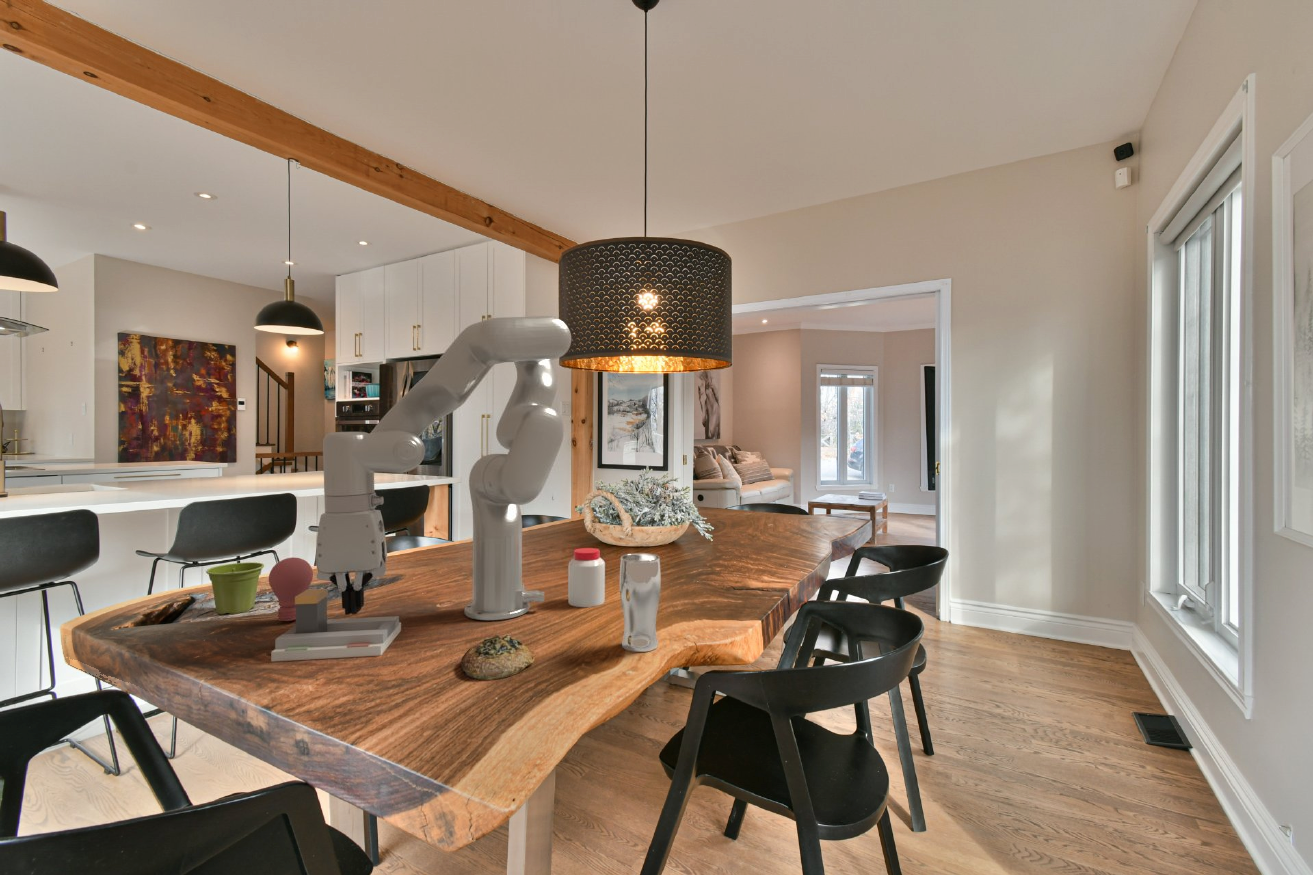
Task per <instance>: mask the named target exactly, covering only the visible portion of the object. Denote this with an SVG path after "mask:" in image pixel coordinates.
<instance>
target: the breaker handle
mask: <svg viewBox="0 0 1313 875" xmlns="http://www.w3.org/2000/svg"><path fill="white" fill-rule="evenodd" d="M328 596H329V588H308V589H307V590H306V591H304V592H302V593H301V594H299V595H297V596H296V597H295V604H296V619H295V625H296V634H299V633H319V632H327V619H328Z"/></svg>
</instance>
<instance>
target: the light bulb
mask: <svg viewBox="0 0 1313 875" xmlns="http://www.w3.org/2000/svg"><path fill="white" fill-rule="evenodd" d="M313 577H314V570H313V568H312V566H311V564H310V563H309V562H308V561H306V560H305V559H303V558H301V557H287V558H284V559H282V560H280V561H278V562H277V563H275V564H274V566H273V567H272V568H271V569H270V572H269V575H268V584H269V587H270V588H271V590H272V592H273V593H274V594H275V597H276V598H277V599H278V606H279V608H278V609H277V617H278V619H277V620H279V621H281V622H284V621H285V622H292V621H294V620H296V604H295V597H296V596H297V595H299V594H301V593H302V592H304V591H306V590H307V589H310V586H311V583H312V581H313Z"/></svg>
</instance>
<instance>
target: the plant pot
mask: <svg viewBox="0 0 1313 875" xmlns="http://www.w3.org/2000/svg"><path fill="white" fill-rule="evenodd" d="M264 567H265V563H261V562H255V561H253V562H249V561H248V562H237V563H236V562H235V563H227V564H220V565H217V566H213V567H210V568H208V569H206V570H205V574H207V575H208V577H209V580H210V581H211V586H212V593H213V599H214V604H215V611H216V614H219V615H225V614H227V613H228V614H231V615H237V614H242V613H246V612H249V611H250V610H251V609H254V608H255V602H256V596H257V589H258V586H259V579H260V575H261V573H262V569H263V568H264Z"/></svg>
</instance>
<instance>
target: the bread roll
mask: <svg viewBox="0 0 1313 875" xmlns="http://www.w3.org/2000/svg"><path fill="white" fill-rule="evenodd" d="M534 661H535V656H534V655H533V653H532V652H531V651H530V649H529V648H528V646H526V645H525V644H523V642H521V641H520V640H518V639H517V638H512V637H511V635H508V634H506V635H505V636H502V637H500V634H496V635H494V636H493V637H491V638H490V637H485V638H484V640H482V641H480V642H478V643H477V644H475V645H473V646H471V647H470V648H468V650H466V652H465V653H464V654H463V656H462V657H461V661H460V666H461V669H462V672H463V673H465V675H466V676H467V677H469V678H471V679H475V680H485V681H491V680H497V679H502V678H508V677H510V676H514V675H517V674H519V673H520V672H522V671H524V670H525V669H526V668H527V667H529V666H531V664H533V662H534Z"/></svg>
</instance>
